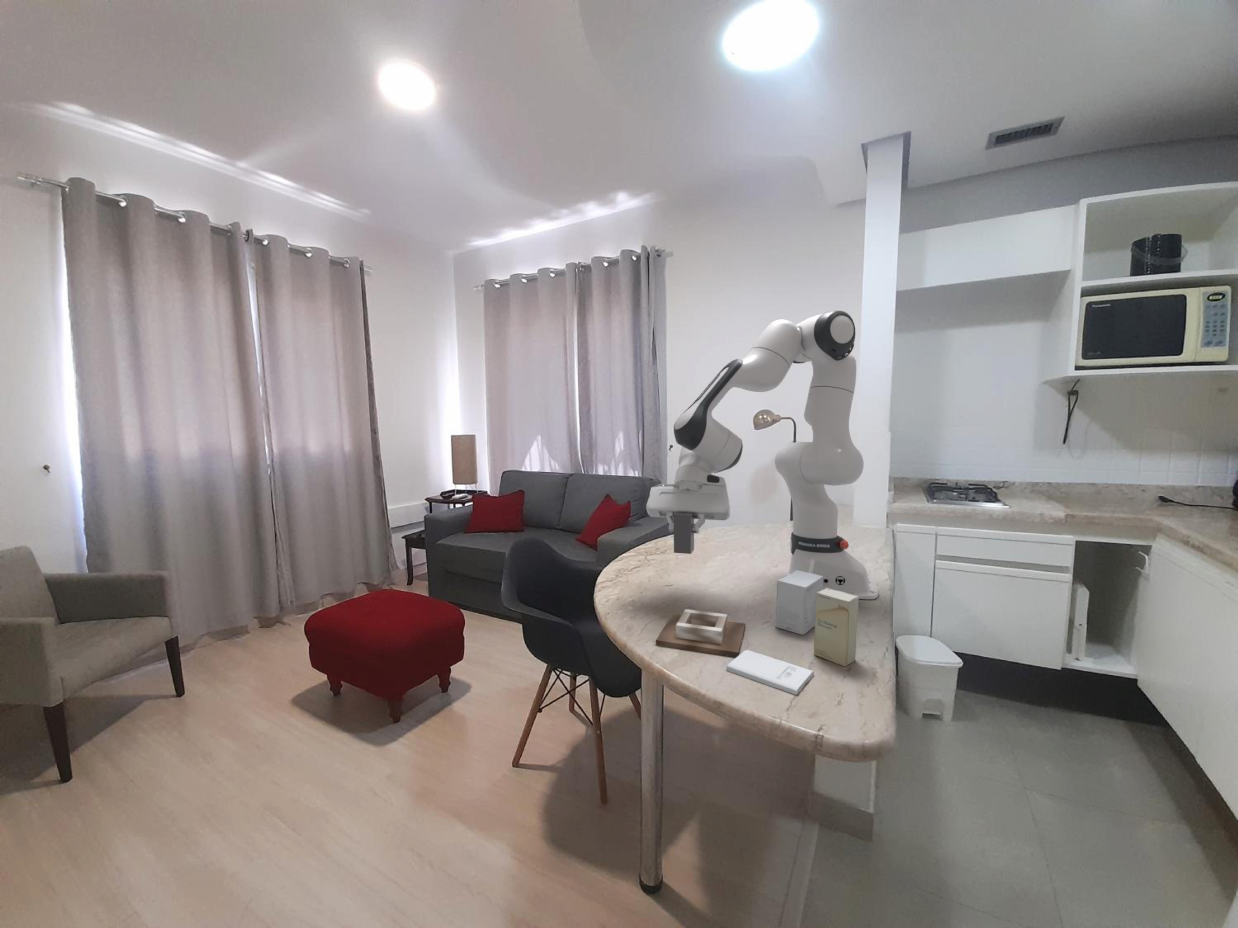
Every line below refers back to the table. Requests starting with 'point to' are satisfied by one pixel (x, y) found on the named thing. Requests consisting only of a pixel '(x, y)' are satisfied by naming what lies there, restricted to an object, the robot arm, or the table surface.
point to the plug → (683, 532)
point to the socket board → (703, 633)
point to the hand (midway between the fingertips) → (683, 531)
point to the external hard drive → (770, 671)
